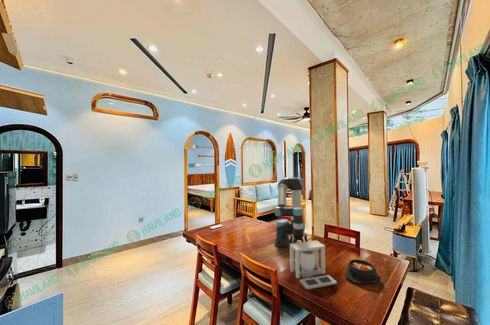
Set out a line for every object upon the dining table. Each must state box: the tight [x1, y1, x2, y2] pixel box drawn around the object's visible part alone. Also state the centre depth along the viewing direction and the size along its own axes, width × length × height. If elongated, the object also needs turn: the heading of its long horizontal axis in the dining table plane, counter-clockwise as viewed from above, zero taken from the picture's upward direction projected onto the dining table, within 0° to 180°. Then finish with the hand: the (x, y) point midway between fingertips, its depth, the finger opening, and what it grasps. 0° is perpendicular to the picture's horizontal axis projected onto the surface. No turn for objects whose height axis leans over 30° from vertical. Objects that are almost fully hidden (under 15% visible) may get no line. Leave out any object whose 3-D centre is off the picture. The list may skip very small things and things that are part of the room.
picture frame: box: [288, 241, 324, 279], centre depth 143 cm, size 21×16×15 cm
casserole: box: [344, 259, 379, 285], centre depth 133 cm, size 25×19×8 cm
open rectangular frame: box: [289, 240, 338, 290], centre depth 134 cm, size 22×22×20 cm
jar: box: [299, 250, 315, 272], centre depth 140 cm, size 11×10×15 cm
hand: (298, 256), depth 152 cm, fingers open, 9 cm apart
